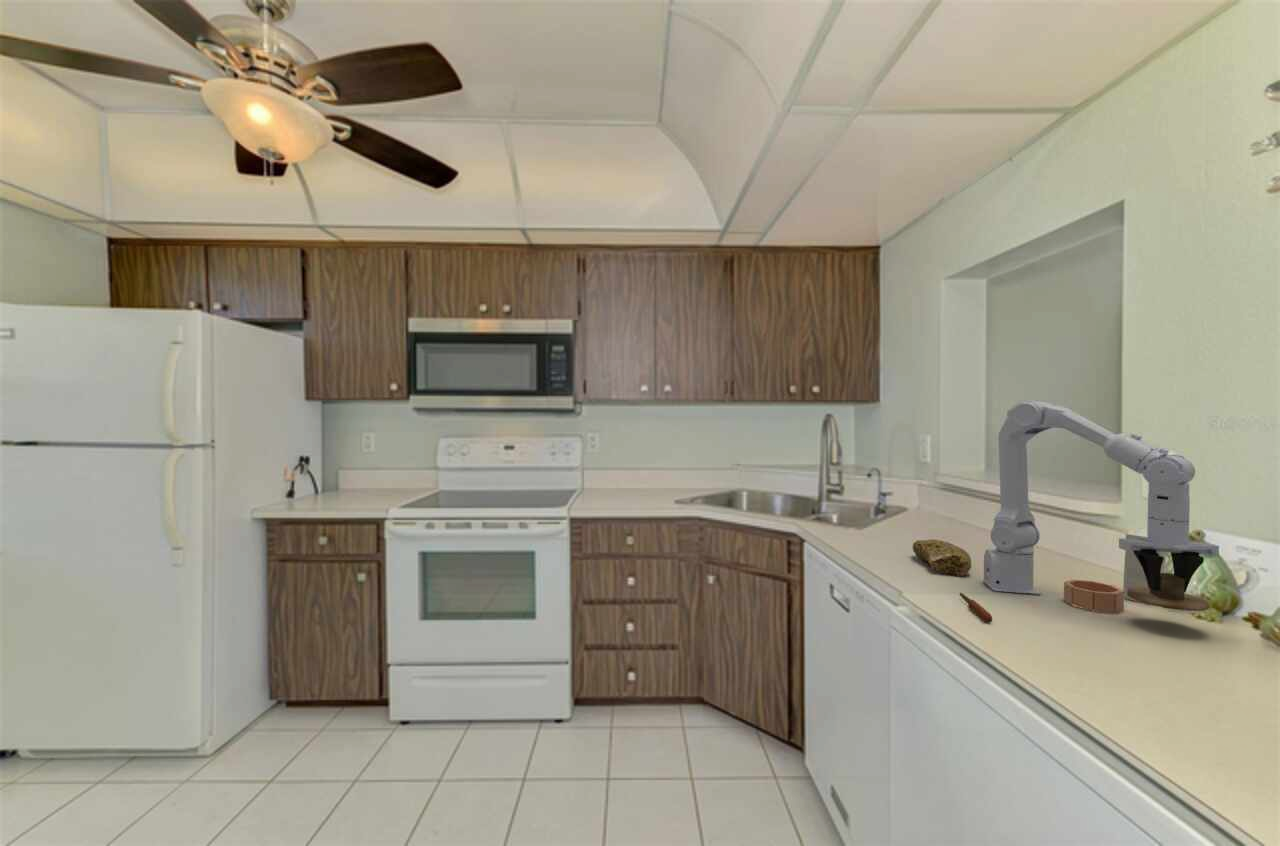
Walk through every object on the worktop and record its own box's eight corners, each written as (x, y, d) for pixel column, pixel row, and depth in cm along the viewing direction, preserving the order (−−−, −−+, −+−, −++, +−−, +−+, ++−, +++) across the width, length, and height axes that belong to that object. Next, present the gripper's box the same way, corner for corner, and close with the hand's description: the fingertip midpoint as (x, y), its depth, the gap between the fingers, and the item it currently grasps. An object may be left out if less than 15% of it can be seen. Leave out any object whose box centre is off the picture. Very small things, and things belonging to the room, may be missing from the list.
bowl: (1078, 610, 114) (1078, 591, 114) (1058, 596, 122) (1058, 578, 122) (1131, 614, 111) (1131, 595, 111) (1107, 600, 120) (1107, 582, 120)
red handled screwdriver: (992, 625, 106) (993, 614, 106) (985, 624, 106) (985, 614, 106) (962, 598, 121) (962, 589, 121) (955, 598, 121) (956, 589, 121)
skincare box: (1130, 591, 126) (1131, 527, 126) (1166, 598, 121) (1167, 531, 121) (1122, 599, 120) (1123, 532, 120) (1159, 607, 116) (1161, 537, 116)
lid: (1148, 607, 100) (1149, 581, 100) (1115, 588, 111) (1115, 565, 111) (1225, 613, 97) (1225, 587, 97) (1183, 594, 108) (1183, 570, 108)
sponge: (977, 583, 136) (965, 549, 154) (971, 554, 135) (960, 523, 153) (918, 586, 142) (913, 553, 159) (913, 558, 141) (908, 528, 158)
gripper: (1134, 520, 102) (1132, 592, 102) (1232, 525, 98) (1230, 600, 98) (1113, 514, 109) (1112, 581, 109) (1204, 518, 105) (1202, 588, 105)
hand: (1166, 589), depth 104 cm, fingers closed on lid, 3 cm apart
